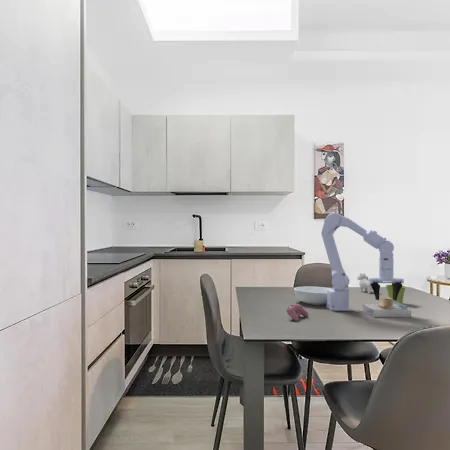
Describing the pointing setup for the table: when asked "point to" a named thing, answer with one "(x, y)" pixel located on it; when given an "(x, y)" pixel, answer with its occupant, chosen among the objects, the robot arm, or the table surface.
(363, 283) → the dog figurine
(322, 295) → the serving bowl
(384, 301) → the tan tall block
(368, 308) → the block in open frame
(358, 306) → the table surface
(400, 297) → the plant pot
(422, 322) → the table surface
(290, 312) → the video game controller
